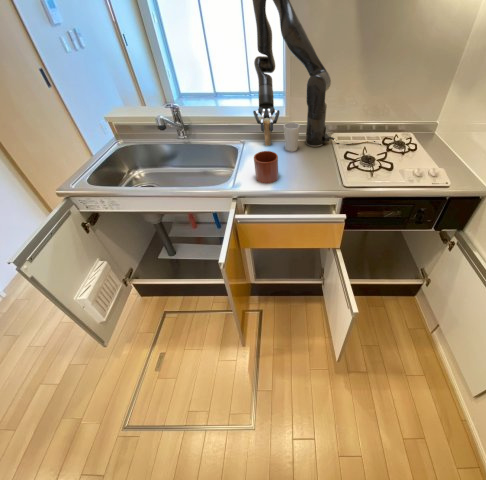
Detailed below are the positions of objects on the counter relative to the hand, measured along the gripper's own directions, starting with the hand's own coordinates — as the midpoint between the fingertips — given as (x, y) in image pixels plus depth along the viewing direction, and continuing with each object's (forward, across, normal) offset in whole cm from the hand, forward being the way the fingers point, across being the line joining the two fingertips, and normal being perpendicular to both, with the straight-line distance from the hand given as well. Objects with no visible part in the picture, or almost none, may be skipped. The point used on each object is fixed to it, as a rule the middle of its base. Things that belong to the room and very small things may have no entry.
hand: (267, 131), depth 135 cm
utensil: (+4, 0, +7) cm, 8 cm away
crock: (+27, 0, -15) cm, 31 cm away
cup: (+8, +12, +3) cm, 15 cm away
